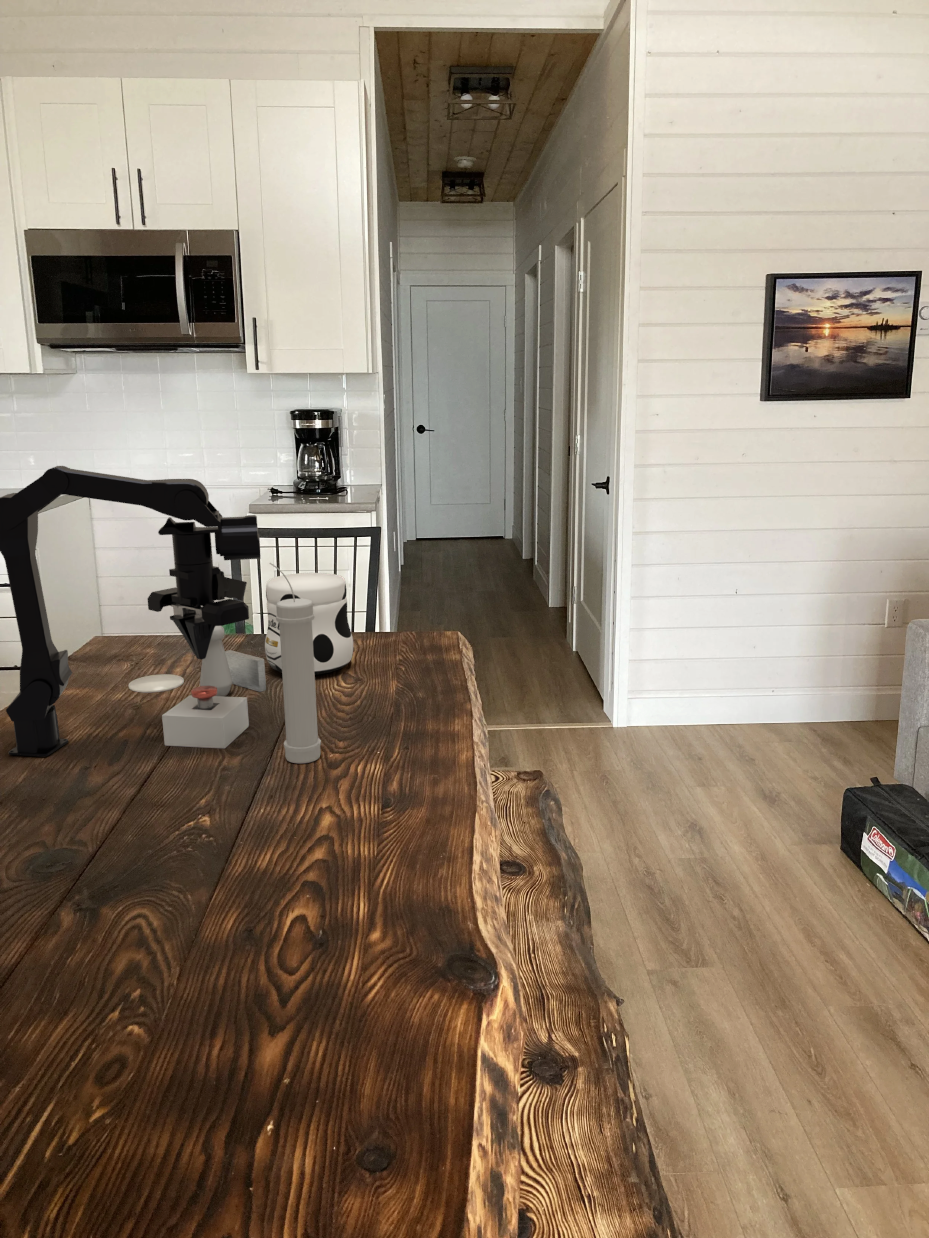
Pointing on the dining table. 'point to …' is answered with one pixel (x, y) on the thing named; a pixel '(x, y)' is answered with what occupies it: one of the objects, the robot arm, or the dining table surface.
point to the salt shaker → (216, 665)
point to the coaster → (156, 683)
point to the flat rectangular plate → (246, 670)
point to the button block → (205, 722)
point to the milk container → (326, 626)
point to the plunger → (204, 696)
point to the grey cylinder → (298, 679)
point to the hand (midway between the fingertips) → (201, 658)
